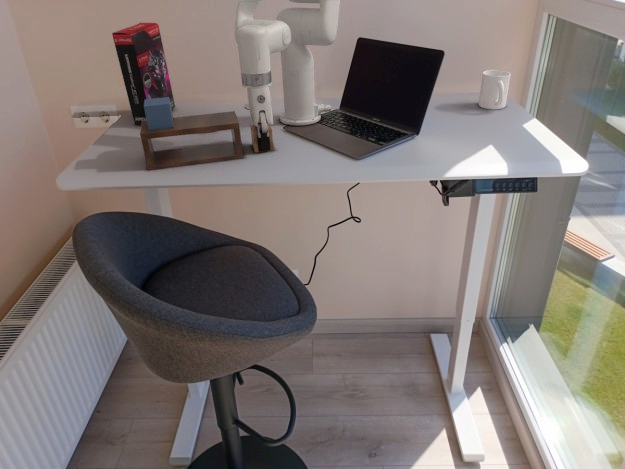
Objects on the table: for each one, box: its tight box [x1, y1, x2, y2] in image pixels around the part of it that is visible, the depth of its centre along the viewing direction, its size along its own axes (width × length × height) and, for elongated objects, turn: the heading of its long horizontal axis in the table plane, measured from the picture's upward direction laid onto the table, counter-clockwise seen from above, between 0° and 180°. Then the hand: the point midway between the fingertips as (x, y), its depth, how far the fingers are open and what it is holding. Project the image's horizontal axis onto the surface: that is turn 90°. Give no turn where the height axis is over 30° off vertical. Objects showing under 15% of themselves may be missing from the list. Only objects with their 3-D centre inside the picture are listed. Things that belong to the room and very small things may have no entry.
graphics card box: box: [111, 21, 176, 126], centre depth 156 cm, size 17×7×27 cm, turn 168°
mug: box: [478, 69, 512, 111], centre depth 157 cm, size 12×8×10 cm
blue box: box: [144, 97, 174, 130], centre depth 126 cm, size 6×6×6 cm
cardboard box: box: [250, 122, 274, 153], centre depth 135 cm, size 5×5×6 cm
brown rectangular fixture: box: [139, 110, 244, 171], centre depth 131 cm, size 24×10×10 cm, turn 104°
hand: (262, 146), depth 137 cm, fingers closed on cardboard box, 5 cm apart
